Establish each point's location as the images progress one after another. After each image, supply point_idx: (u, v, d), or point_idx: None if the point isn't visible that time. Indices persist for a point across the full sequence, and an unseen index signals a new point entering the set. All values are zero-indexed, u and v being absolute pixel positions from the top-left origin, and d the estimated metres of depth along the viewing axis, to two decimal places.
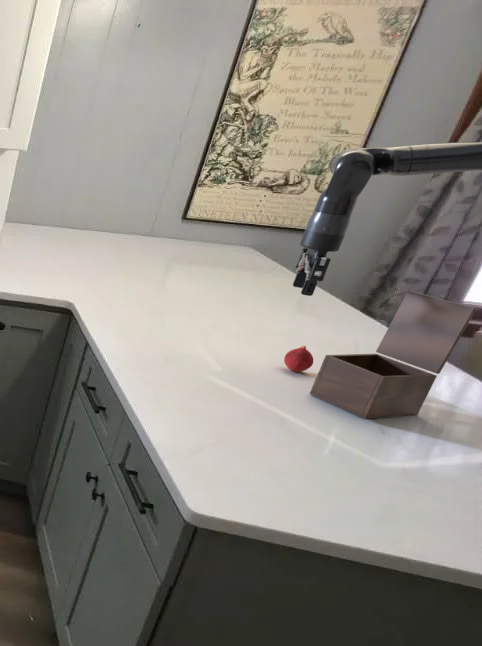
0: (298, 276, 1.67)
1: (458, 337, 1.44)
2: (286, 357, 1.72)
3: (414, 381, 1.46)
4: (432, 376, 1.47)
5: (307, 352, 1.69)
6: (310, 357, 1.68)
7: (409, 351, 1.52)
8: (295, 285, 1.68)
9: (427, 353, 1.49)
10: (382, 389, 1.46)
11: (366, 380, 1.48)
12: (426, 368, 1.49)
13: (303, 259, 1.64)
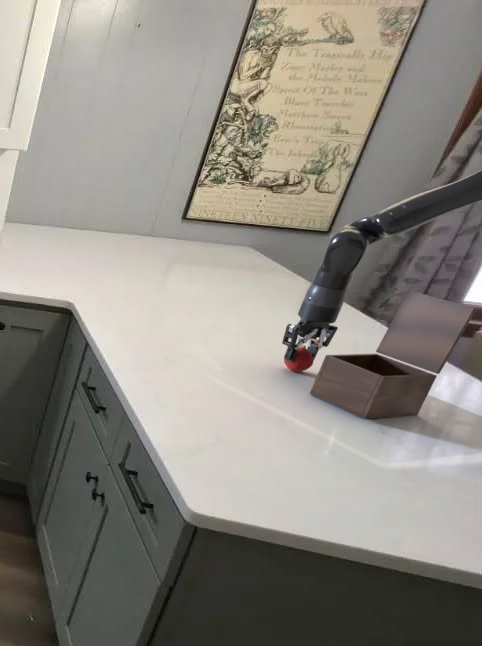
0: (308, 349, 1.71)
1: (458, 337, 1.44)
2: None
3: (414, 381, 1.46)
4: (432, 376, 1.47)
5: (307, 352, 1.69)
6: (310, 357, 1.68)
7: (409, 351, 1.52)
8: None
9: (427, 353, 1.49)
10: (382, 389, 1.46)
11: (366, 380, 1.48)
12: (426, 368, 1.49)
13: None
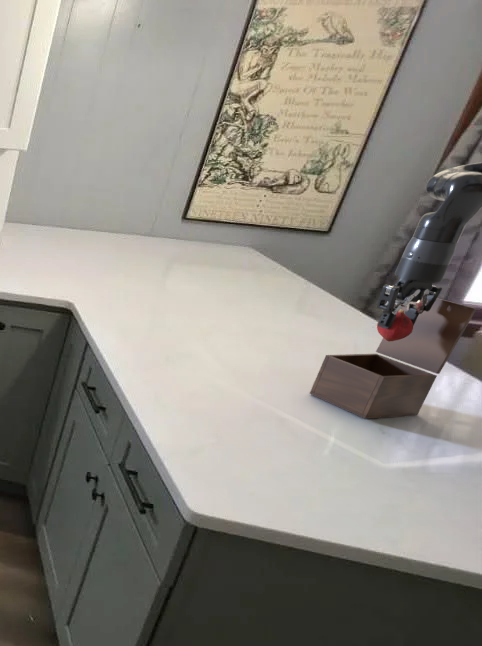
0: (405, 314, 1.49)
1: (458, 337, 1.44)
2: None
3: (414, 381, 1.46)
4: (432, 376, 1.47)
5: (406, 317, 1.46)
6: (410, 323, 1.46)
7: (409, 351, 1.52)
8: None
9: (427, 353, 1.49)
10: (382, 389, 1.46)
11: (366, 380, 1.48)
12: (426, 368, 1.49)
13: None
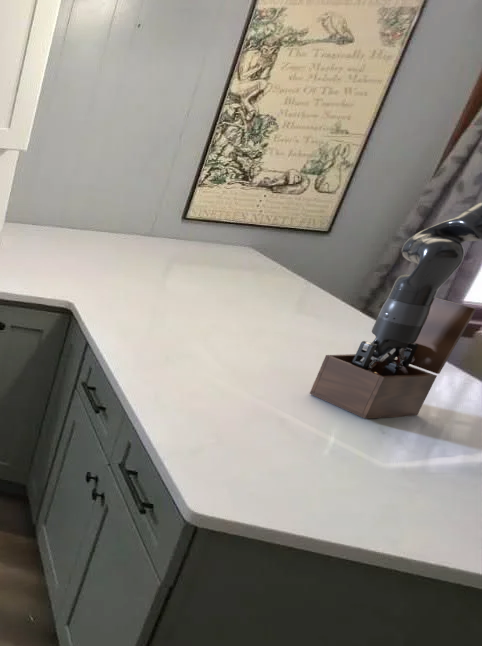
0: (386, 369, 1.53)
1: (458, 337, 1.44)
2: None
3: (414, 381, 1.46)
4: (432, 376, 1.47)
5: None
6: None
7: None
8: None
9: (427, 353, 1.49)
10: (382, 389, 1.46)
11: (366, 380, 1.48)
12: (426, 368, 1.49)
13: None
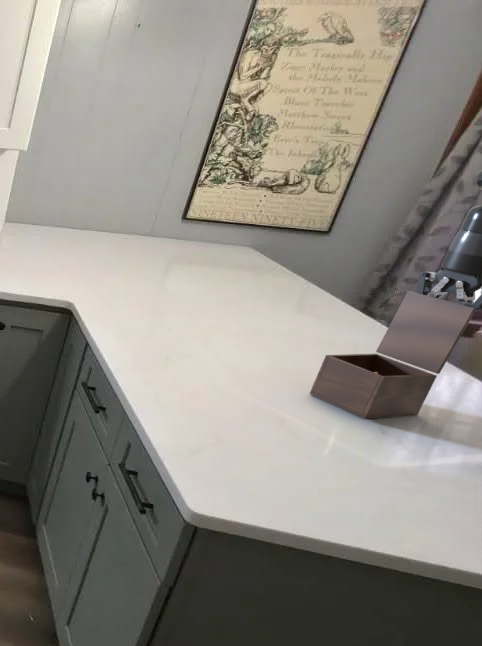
0: None
1: (458, 337, 1.44)
2: None
3: (414, 381, 1.46)
4: (432, 376, 1.47)
5: None
6: None
7: (409, 351, 1.52)
8: None
9: (427, 353, 1.49)
10: (382, 389, 1.46)
11: (366, 380, 1.48)
12: (426, 368, 1.49)
13: (445, 284, 1.47)
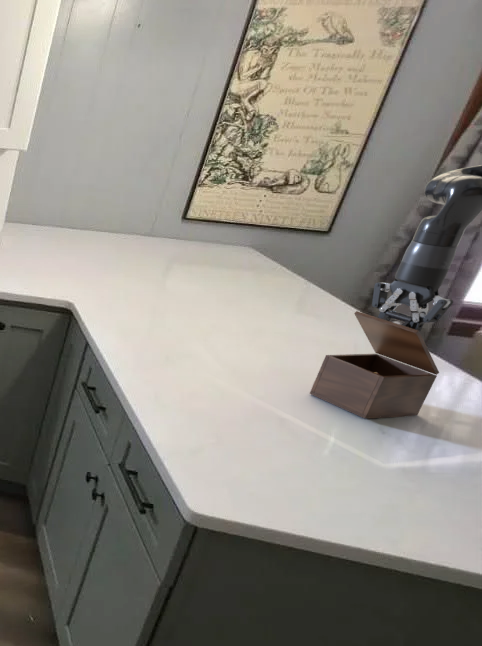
0: None
1: (426, 350, 1.44)
2: None
3: (414, 381, 1.46)
4: (432, 376, 1.47)
5: None
6: None
7: (399, 356, 1.52)
8: None
9: (414, 359, 1.49)
10: (382, 389, 1.46)
11: (366, 380, 1.48)
12: (425, 370, 1.49)
13: (399, 295, 1.46)
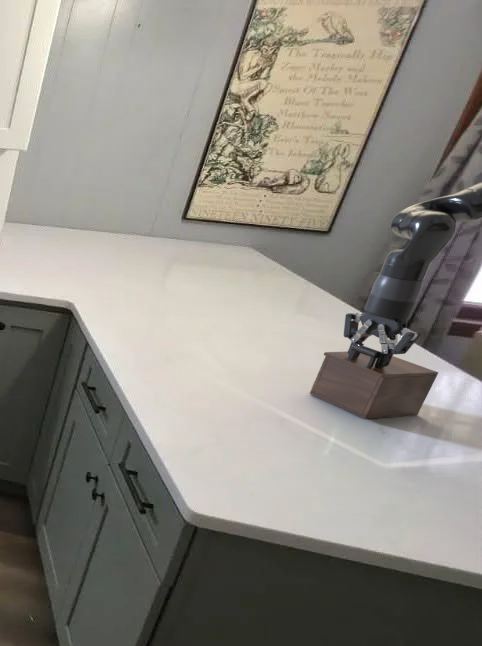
0: None
1: (406, 375, 1.45)
2: None
3: (414, 381, 1.46)
4: (432, 376, 1.47)
5: None
6: None
7: None
8: None
9: None
10: (382, 389, 1.46)
11: (366, 380, 1.48)
12: None
13: (369, 327, 1.48)
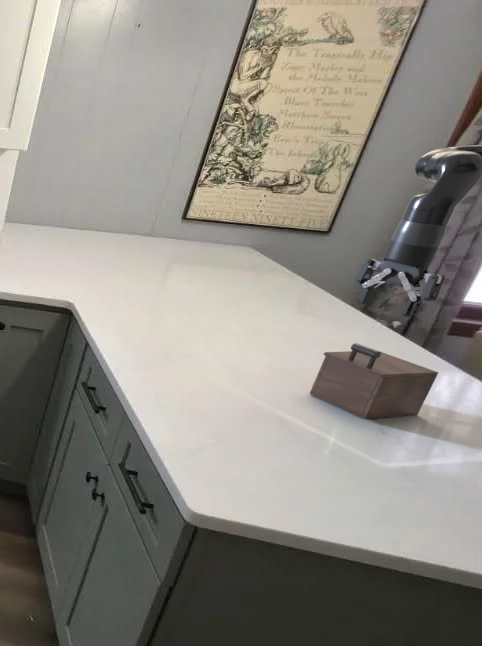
0: (368, 292, 1.48)
1: (406, 375, 1.45)
2: None
3: (414, 381, 1.46)
4: (432, 376, 1.47)
5: None
6: None
7: None
8: (364, 302, 1.49)
9: None
10: (382, 389, 1.46)
11: (366, 380, 1.48)
12: None
13: (386, 275, 1.44)
